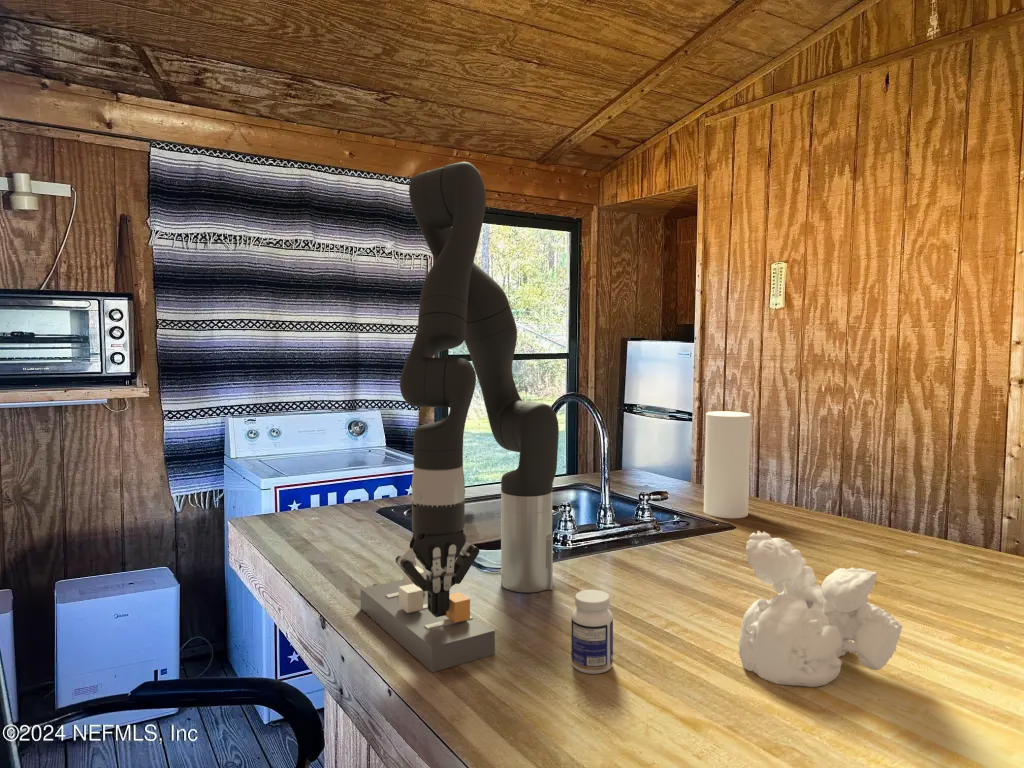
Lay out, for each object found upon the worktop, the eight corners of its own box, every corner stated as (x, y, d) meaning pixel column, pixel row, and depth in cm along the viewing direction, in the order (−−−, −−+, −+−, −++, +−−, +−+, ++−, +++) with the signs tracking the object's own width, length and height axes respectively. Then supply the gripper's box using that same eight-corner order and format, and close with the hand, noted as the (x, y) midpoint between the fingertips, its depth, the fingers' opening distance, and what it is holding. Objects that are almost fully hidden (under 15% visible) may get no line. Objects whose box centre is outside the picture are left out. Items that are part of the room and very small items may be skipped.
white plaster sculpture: (693, 606, 98) (767, 510, 107) (729, 697, 107) (795, 601, 116) (829, 663, 83) (900, 546, 93) (857, 763, 92) (920, 648, 102)
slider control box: (347, 597, 125) (347, 576, 124) (401, 586, 130) (401, 566, 130) (432, 672, 98) (432, 646, 98) (494, 654, 103) (494, 629, 103)
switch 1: (412, 592, 116) (411, 574, 116) (403, 586, 119) (403, 568, 118) (426, 589, 117) (426, 571, 117) (417, 583, 120) (417, 566, 120)
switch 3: (455, 622, 104) (454, 602, 104) (444, 615, 107) (444, 595, 107) (470, 618, 106) (469, 599, 106) (459, 611, 108) (459, 592, 108)
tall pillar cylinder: (719, 505, 188) (722, 410, 186) (756, 513, 180) (759, 414, 178) (694, 511, 182) (697, 413, 180) (731, 520, 173) (734, 417, 171)
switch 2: (407, 612, 108) (407, 593, 108) (398, 605, 111) (398, 586, 110) (423, 609, 109) (422, 589, 109) (413, 602, 112) (413, 583, 112)
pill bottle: (586, 652, 104) (586, 584, 103) (620, 663, 100) (621, 594, 100) (562, 666, 100) (563, 596, 99) (598, 679, 96) (599, 606, 95)
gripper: (465, 486, 110) (465, 597, 111) (384, 497, 103) (385, 615, 104) (491, 496, 104) (490, 614, 105) (407, 508, 97) (407, 634, 98)
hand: (438, 614), depth 105 cm, fingers closed
